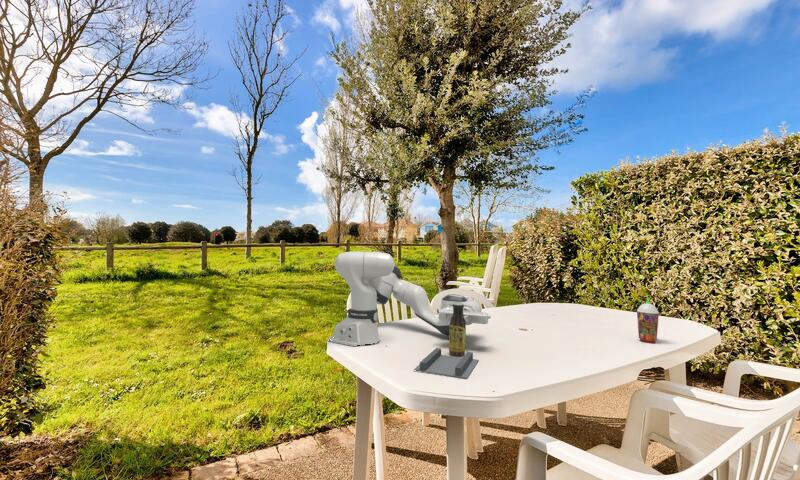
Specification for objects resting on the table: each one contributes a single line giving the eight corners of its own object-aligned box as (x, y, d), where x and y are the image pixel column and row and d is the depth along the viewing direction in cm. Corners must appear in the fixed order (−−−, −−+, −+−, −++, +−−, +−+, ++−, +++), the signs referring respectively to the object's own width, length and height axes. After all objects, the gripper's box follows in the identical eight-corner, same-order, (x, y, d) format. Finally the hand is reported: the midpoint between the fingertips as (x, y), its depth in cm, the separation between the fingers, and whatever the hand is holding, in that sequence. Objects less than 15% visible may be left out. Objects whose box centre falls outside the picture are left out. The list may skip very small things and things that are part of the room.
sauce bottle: (446, 355, 141) (446, 304, 139) (452, 349, 146) (451, 300, 144) (463, 357, 138) (462, 306, 136) (468, 351, 143) (467, 302, 141)
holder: (413, 371, 122) (413, 362, 122) (431, 354, 141) (431, 347, 141) (467, 379, 115) (467, 369, 115) (478, 361, 134) (478, 352, 134)
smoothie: (640, 343, 162) (640, 298, 163) (634, 338, 170) (634, 295, 171) (662, 344, 160) (662, 299, 160) (654, 340, 168) (655, 296, 168)
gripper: (491, 323, 152) (486, 330, 140) (443, 319, 160) (434, 325, 147) (491, 308, 152) (486, 314, 140) (443, 304, 160) (434, 309, 147)
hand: (459, 320), depth 144 cm, fingers closed
